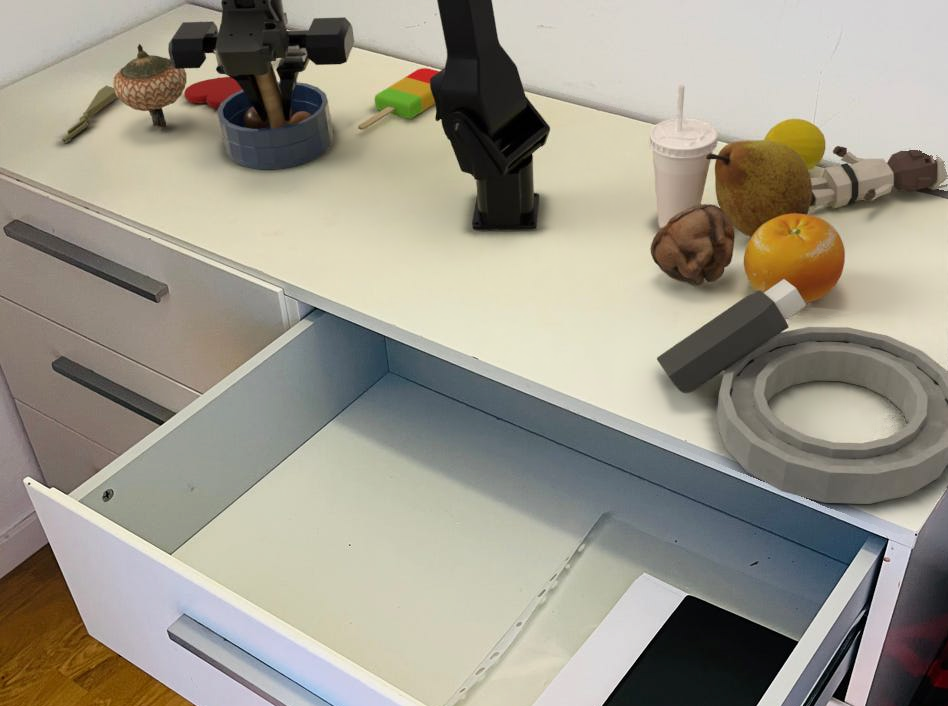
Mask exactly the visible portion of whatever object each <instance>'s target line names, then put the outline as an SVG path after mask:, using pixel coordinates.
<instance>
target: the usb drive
mask: <svg viewBox="0 0 948 706" xmlns="http://www.w3.org/2000/svg"><path fill="white" fill-rule="evenodd" d="M806 306H807V303H805V302H804V300H803V299H802V297H801V295H800V294H799V292H798V290H797V289H796V288H795V287H794V286H793V285H791V284H790V283H789V282H787V281H786V280H785V279H783V280H782V281H780V282H779V283H777V284H776V285H774V286H773V287H771V288H770V289H769V290H767V291H766V292H764V293H763V292H762V291H760V290H759V291H755V292H753V293H751V294H749V295H746V296H745V297H743V298H742V299H740V300H739V301H738V302H736V303H734V304H733V305H731V306H730V307H728V308H727V309H725V310H724V311H723V312H721V313H720V314H718V315H716V316H715V317H714V318H713V319H711V320H710V321H708V322H707V323H705V324H703V325H702V326H701V327H699V328H698V329H696V330H695V331H694V332H692V333H691V334H689V335H688V336H686V337H685V338H683V339H681V340H680V341H679V342H678V343H676V344H675V345H673V346H671V347H670V348H669V349H667V350H665V351H664V352H663V353H662V354H660V355H659V356H658V357H656V361H657V362H658V364H659V365H660V367H661V369H663V371H664V372H665V374H666V375H667V377H668V378H669V380H670V381H671V382H672V384H673V385H674V387H675V388H676V389H677V390H678V391H680V392H681V393H682V394H690V393H693V392H694V391H696V390H697V389H699V388H701V387H702V386H703V385H704V384H706V383H708V382H710V381H711V380H713V379H714V378H715V377H717V376H718V375H720V374H721V373H724V371H725V370H726V369H727V368H729V367H730V366H732V365H733V364H734V363H736V362H737V361H739V360H740V359H742V358H743V357H745V356H746V355H748V354H749V353H751V352H752V351H754V350H755V349H757V348H758V347H760V346H761V345H763V344H764V343H766V342H767V341H769V340H770V339H772V338H773V337H775V336H776V335H778V334H779V333H781V332H785V331H787V329H789V323H788V322H787V319H789V318H791V317H792V316H793V315H795V314H796V313H797V312H799V311H800V310H802V309H804V308H805V307H806Z"/></svg>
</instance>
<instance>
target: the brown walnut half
mask: <svg viewBox="0 0 948 706" xmlns="http://www.w3.org/2000/svg"><path fill="white" fill-rule="evenodd" d="M735 238H736V234H735V227H734V226H733V224H732V222H731V219H730V218H729V216H728V215H727V214H726V213H725V212H724V211H723V210H722V209H721V208H720V206H719V205H716V204H711V203H710V204H708V203H707V204H706V203H705V204H704V203H703V204H702V203H701V205H698V206H694V207H691V208H688V209H686V210H684V211H682V212H680V213H678V214H676V215H675V216H674V217H672V218H671V219H670V220H669V222H668V223H667V224H666V225H665V226H664V227H662V228H661V229H660V228H659V230H658V231H657V232H656V233H655V235H654V236H653V238H652V242H651V244H650V255H651V257H652V260H653V262H654V263H655V264H656V265H657V266H658V267H659V269H660V270H661V271H662V272H663V273H664V274H666V275H667V277H669V278H671V279H672V280H675V281H678V282H682V283H687V284H690V285H691V286H694V287H699V286H702V285H703V284H704V282H705V281H706V282H707V283H709V284H710V283H714V282H716V281H718V280H719V279H720V278H721V277H722V276H723V275H724V273H725V268H727V267H729V265H731V263H732V260H733V255H734V249H735V248H734V247H735Z"/></svg>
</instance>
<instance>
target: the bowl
mask: <svg viewBox="0 0 948 706" xmlns="http://www.w3.org/2000/svg"><path fill="white" fill-rule="evenodd" d="M278 85H279V88H280V91H281V86H280V81H278ZM250 107H253V105H252V104H251V102H250V100H249V99H248V97H247V96H246V94H245V92H244V91H243V90H240V91H238V92H236V93H234V94H232V95H230V96H229V97H228V98H227V99H225V100H224V101H223V102H222V103H221V105H220V107H219V108H218V109H217V111H216V112H217V118H218V123H219V127H220V131H221V136H222V140H223V145H224V149H225V152H226V155H227V157H228V158H229V159H230V161H232V162H233V163H235V164H237V165H239V166H242V167H245V168H249V169H255V170H279V169H287V168H292V167H296V166H300V165H303V164H305V163H308V162H311V161H313V160H315V159H317V158H319V157H321V155H323V154H324V153H325V152H327V151H328V150H329V149H330V147H331V145H332V144H333V141H334V130H333V123H332V117H331V113H330V112H331V111H330V105H329V99H328V96H327V94H326V93H325V92H324V91H323V90H322V89H321V88H319V87H318V86H315V85H312V84H309V83H306V82H298V81H297V83H296V89H295V95H294V101H293V107H292V113H291V118H292V116H293V115H294V114H295V113H297V112H300V111H305V112H308V113H310V114H311V115H312V116H310V117H308V118H307V119H305V120H303V121H301V122H298V123H295V124H291V125H288V126H284V127H277V128H271V126H269V128H268V129H250V128H246V126H245V124H244V115H245V112H246V111H247V110H248V109H249V108H250ZM291 118H290V120H291Z"/></svg>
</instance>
